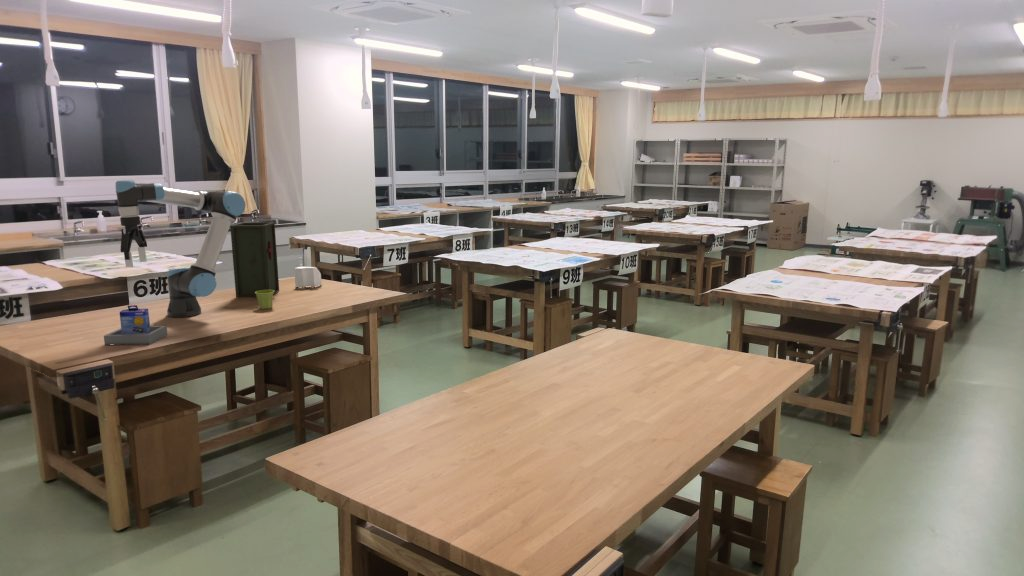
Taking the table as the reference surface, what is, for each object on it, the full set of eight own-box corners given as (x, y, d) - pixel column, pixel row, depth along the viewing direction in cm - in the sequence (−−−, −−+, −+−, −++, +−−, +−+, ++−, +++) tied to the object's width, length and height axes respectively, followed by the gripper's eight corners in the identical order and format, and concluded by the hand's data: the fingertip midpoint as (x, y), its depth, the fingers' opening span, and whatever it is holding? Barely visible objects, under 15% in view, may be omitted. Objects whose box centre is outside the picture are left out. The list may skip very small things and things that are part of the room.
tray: (125, 335, 290) (124, 326, 290) (167, 334, 291) (166, 325, 290) (104, 345, 275) (103, 335, 274) (149, 344, 275) (148, 335, 275)
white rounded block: (295, 288, 400) (294, 268, 398) (306, 284, 410) (304, 265, 408) (311, 288, 397) (310, 268, 395) (321, 285, 408) (320, 266, 405)
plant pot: (265, 310, 338) (264, 293, 337) (252, 308, 342) (250, 292, 341) (279, 307, 346) (278, 290, 345) (266, 305, 351) (265, 289, 349)
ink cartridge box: (121, 340, 279) (117, 306, 276) (126, 337, 284) (122, 303, 281) (147, 339, 281) (144, 305, 278) (151, 335, 286) (148, 302, 284)
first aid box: (247, 291, 390) (241, 222, 382) (279, 290, 391) (274, 222, 383) (236, 297, 371) (230, 225, 364) (269, 297, 372) (264, 225, 365)
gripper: (133, 213, 303) (140, 259, 307) (106, 219, 279) (114, 269, 283) (150, 213, 304) (157, 259, 308) (125, 219, 279) (132, 268, 284)
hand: (136, 264), depth 296 cm, fingers open, 13 cm apart
